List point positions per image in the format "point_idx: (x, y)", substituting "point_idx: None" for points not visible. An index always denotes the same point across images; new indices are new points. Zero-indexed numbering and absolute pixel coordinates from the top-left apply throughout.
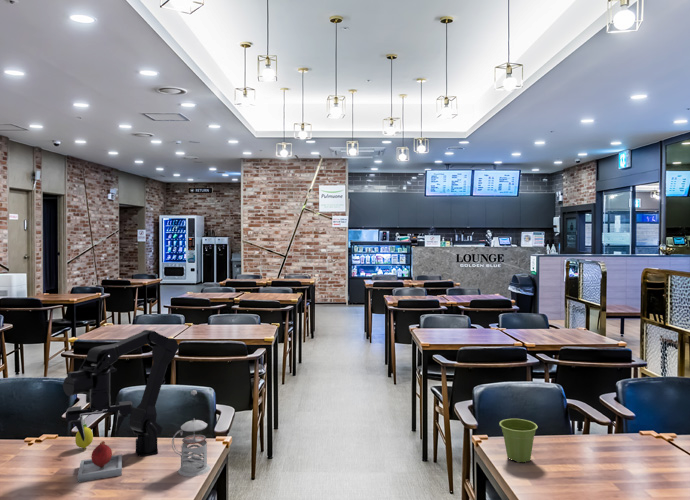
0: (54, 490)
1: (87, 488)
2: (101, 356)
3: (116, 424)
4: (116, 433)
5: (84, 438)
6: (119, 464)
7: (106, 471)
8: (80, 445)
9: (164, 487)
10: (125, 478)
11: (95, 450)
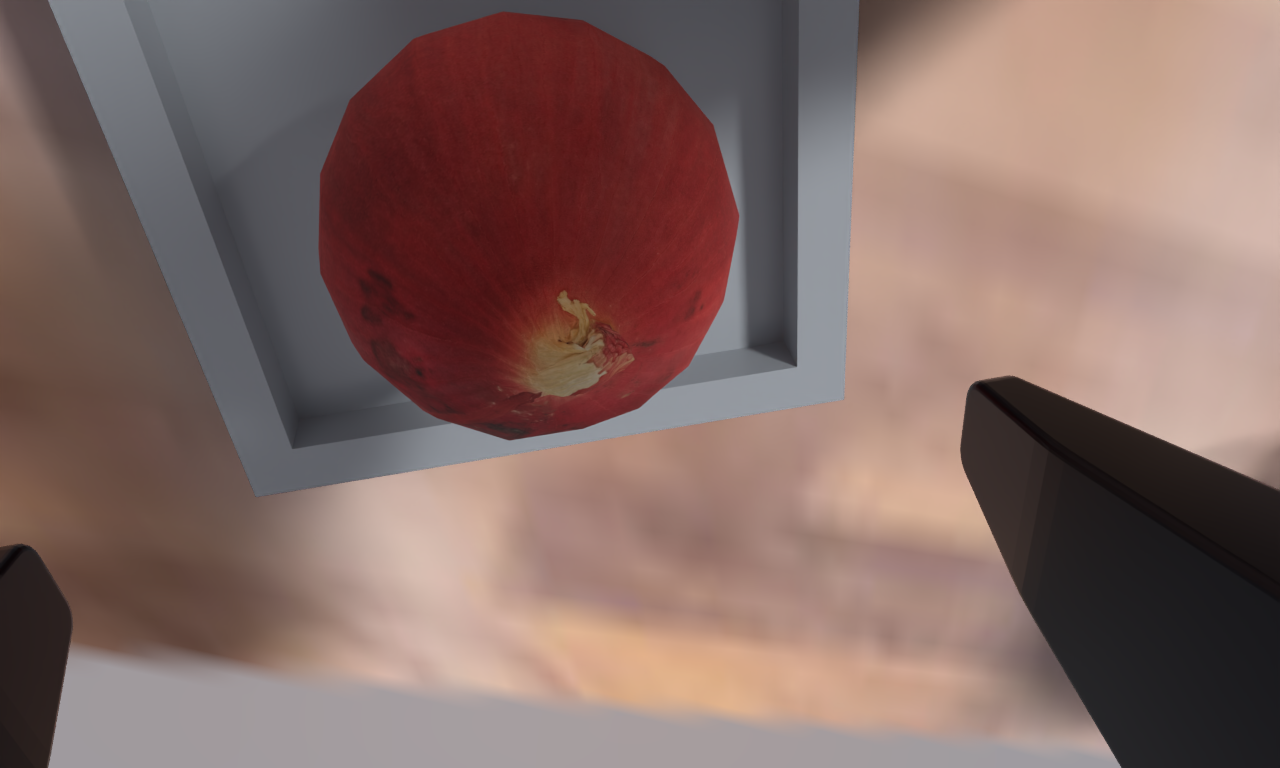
0: (56, 580)
1: (456, 590)
2: None
3: (1230, 599)
4: (1027, 550)
5: (17, 571)
6: (815, 250)
7: (640, 430)
8: None
9: None
10: (853, 442)
11: (423, 397)
